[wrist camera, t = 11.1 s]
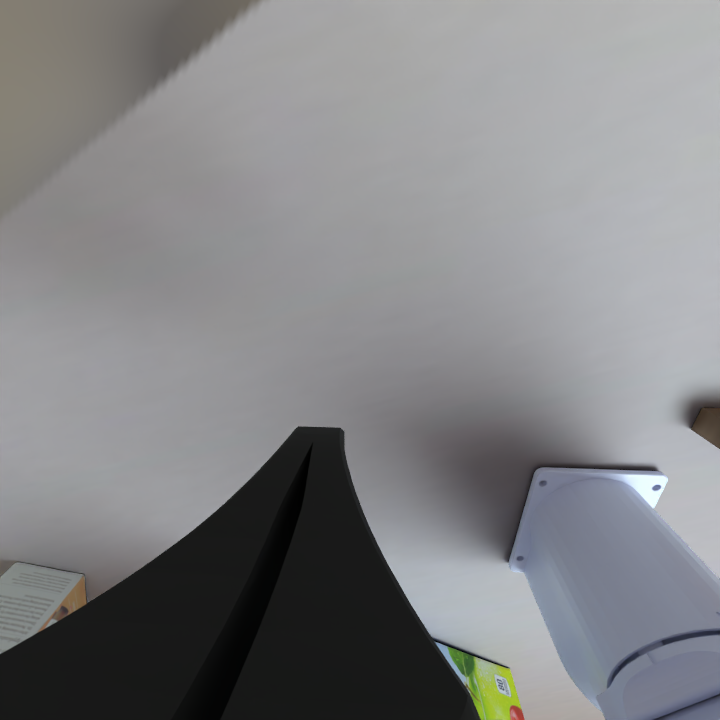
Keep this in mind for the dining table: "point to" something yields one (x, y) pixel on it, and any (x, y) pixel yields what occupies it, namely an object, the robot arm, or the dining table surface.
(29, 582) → the small box
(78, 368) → the dining table surface
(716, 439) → the brown u-shaped wooden frame
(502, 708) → the snack box
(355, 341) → the dining table surface
